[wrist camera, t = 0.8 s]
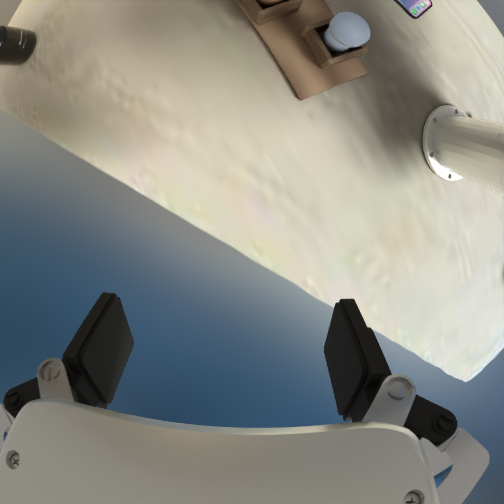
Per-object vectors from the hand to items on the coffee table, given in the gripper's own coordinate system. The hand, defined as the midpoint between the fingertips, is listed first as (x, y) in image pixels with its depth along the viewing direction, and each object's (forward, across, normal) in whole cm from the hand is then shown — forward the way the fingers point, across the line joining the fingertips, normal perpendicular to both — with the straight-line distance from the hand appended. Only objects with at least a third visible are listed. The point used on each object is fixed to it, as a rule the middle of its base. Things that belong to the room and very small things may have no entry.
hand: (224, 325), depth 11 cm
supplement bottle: (+28, +38, -28) cm, 55 cm away
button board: (+28, -4, -26) cm, 39 cm away
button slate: (+25, -11, -19) cm, 33 cm away
